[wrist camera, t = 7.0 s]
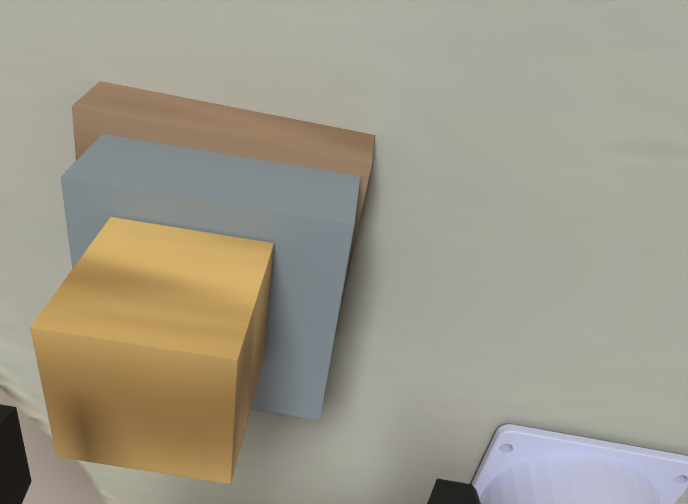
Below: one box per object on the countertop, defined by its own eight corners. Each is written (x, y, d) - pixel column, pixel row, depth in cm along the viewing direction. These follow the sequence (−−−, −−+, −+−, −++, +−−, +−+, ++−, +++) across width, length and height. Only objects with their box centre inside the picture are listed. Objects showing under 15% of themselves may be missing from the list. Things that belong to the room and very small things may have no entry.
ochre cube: (263, 359, 18) (230, 484, 14) (121, 336, 18) (56, 456, 14) (274, 243, 15) (237, 360, 12) (110, 216, 15) (29, 327, 12)
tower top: (328, 361, 21) (319, 420, 19) (118, 328, 21) (87, 383, 19) (360, 175, 17) (354, 224, 15) (102, 134, 17) (60, 177, 15)
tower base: (332, 325, 23) (325, 373, 21) (117, 285, 23) (89, 330, 21) (375, 126, 19) (372, 164, 17) (108, 74, 19) (72, 106, 17)
